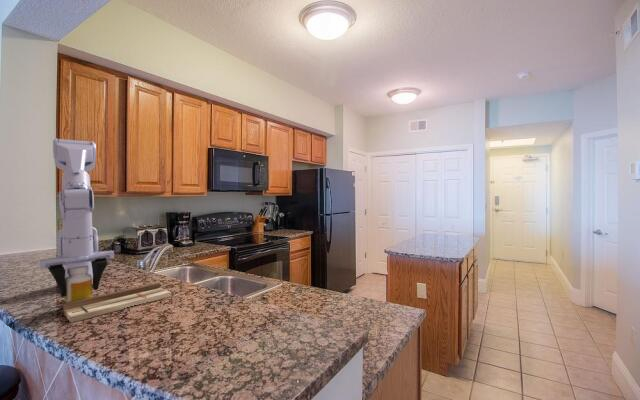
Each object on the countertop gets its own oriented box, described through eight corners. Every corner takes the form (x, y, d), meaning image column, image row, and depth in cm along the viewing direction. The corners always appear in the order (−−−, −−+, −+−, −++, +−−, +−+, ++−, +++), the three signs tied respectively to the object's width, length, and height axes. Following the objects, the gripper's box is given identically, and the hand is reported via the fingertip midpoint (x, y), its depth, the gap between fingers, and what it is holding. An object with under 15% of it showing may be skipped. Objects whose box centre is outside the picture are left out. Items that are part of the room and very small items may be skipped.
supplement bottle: (98, 302, 77) (97, 264, 77) (79, 310, 72) (78, 269, 72) (78, 302, 78) (77, 264, 78) (58, 310, 72) (57, 269, 72)
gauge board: (63, 313, 70) (62, 303, 70) (158, 290, 86) (158, 282, 86) (71, 322, 65) (70, 311, 65) (170, 296, 81) (170, 287, 81)
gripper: (41, 242, 67) (43, 304, 67) (117, 235, 78) (118, 288, 78) (36, 240, 71) (38, 297, 71) (108, 233, 82) (110, 283, 82)
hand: (79, 292), depth 75 cm, fingers open, 6 cm apart
